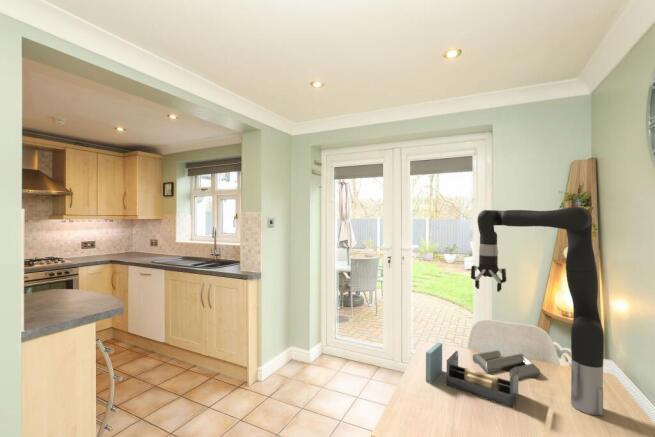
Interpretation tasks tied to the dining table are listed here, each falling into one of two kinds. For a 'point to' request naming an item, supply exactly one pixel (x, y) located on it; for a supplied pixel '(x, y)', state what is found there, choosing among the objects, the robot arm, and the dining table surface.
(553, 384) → the dining table surface
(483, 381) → the offcut short
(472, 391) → the rack
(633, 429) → the dining table surface
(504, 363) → the emblem
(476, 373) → the offcut long
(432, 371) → the blue sheet
